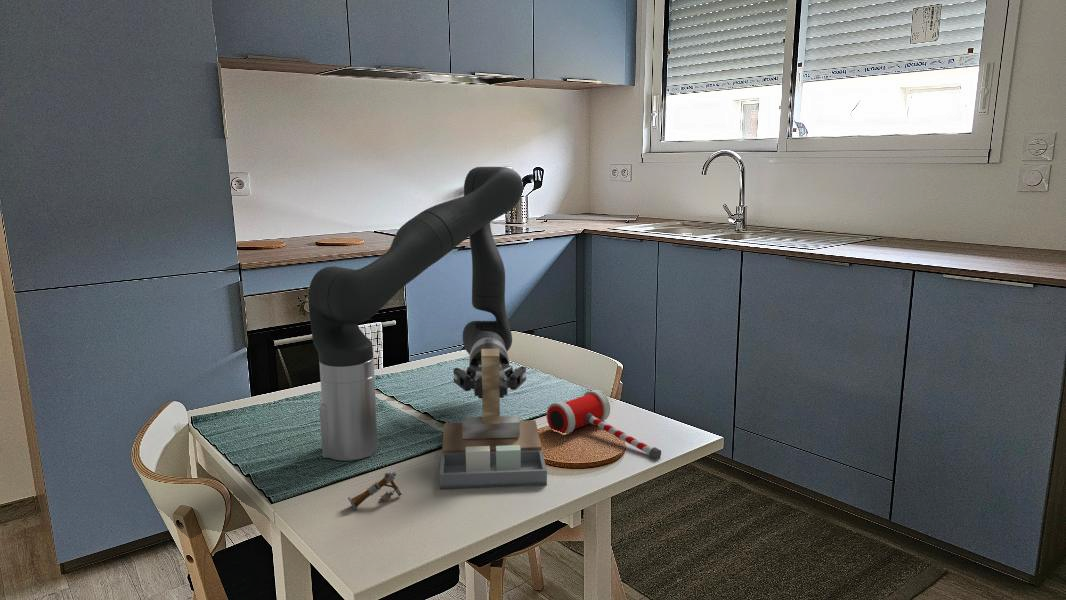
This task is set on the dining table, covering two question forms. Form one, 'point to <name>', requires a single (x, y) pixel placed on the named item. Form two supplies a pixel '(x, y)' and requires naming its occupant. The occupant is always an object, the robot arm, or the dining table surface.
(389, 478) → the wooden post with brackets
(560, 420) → the toy hammer
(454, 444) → the board
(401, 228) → the robot arm
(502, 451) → the tile
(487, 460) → the tile
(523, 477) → the tray
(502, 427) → the scraper
